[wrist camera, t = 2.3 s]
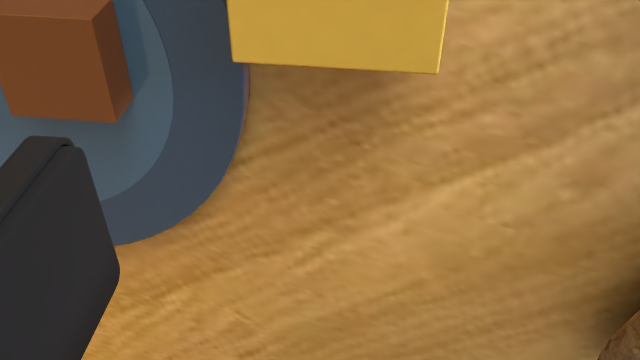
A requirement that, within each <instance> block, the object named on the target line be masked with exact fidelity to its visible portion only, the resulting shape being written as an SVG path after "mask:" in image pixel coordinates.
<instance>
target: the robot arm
mask: <svg viewBox="0 0 640 360" xmlns="http://www.w3.org/2000/svg"><path fill="white" fill-rule="evenodd" d="M119 275H120V267H119V262H118V259H117V256H116V253H115V249H114V246H113V243H112V240H111V236H110V233H109V230H108V227H107V224H106V220H105V217H104V214H103V211H102V207H101V204H100V201H99V198H98V195H97V191H96V188H95V185H94V182H93V179H92V175H91V172H90V169H89V166H88V162H87V159H86V156H85V154H84V151H83V150H82V149H81V148H79V147H75V146H74V144H73V142H72V141H71V140H70V139H69V138H66V137H53V136H35V135H33V136H28V137H27V138H26V139H25V140H24V141H23V142H22V143H21V144H20V145H19V146H18V148H17V149H16V150H15V151H14V152H13V153H12V154H11V156H10V157H9V158H8V159H7V160H6V161H5V163H4V164H3V165H2V166H1V167H0V360H81V358H82V356H83V354H84V352H85V350H86V348H87V346H88V344H89V342H90V340H91V338H92V336H93V334H94V332H95V330H96V328H97V326H98V324H99V322H100V320H101V318H102V316H103V314H104V312H105V310H106V308H107V305H108V303H109V301H110V299H111V297H112V295H113V293H114V291H115V289H116V287H117V284H118V281H119Z"/></svg>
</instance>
